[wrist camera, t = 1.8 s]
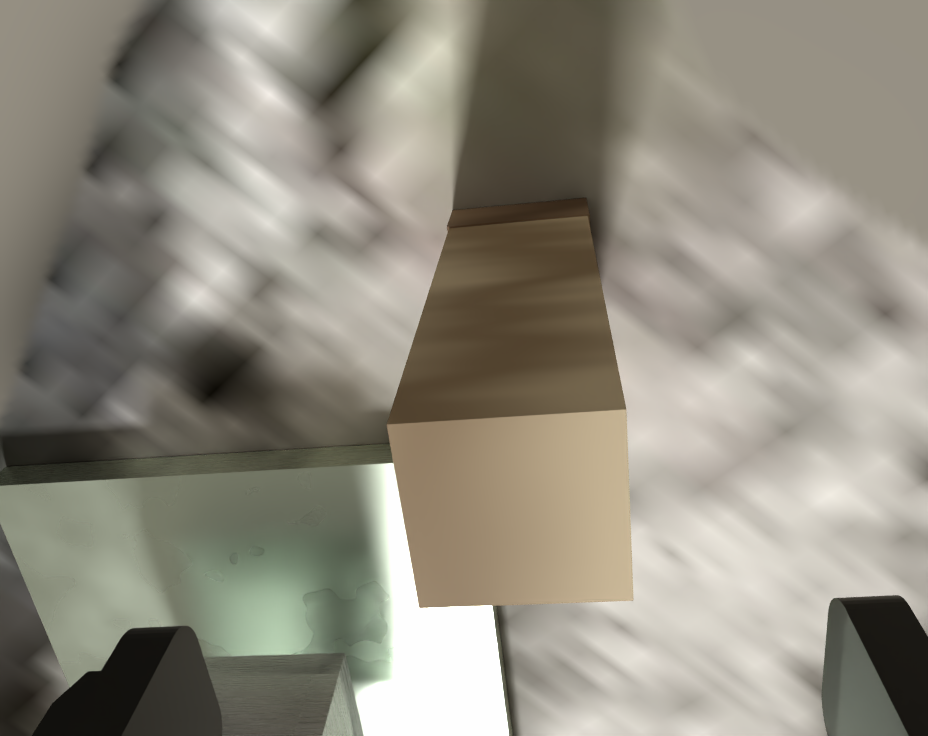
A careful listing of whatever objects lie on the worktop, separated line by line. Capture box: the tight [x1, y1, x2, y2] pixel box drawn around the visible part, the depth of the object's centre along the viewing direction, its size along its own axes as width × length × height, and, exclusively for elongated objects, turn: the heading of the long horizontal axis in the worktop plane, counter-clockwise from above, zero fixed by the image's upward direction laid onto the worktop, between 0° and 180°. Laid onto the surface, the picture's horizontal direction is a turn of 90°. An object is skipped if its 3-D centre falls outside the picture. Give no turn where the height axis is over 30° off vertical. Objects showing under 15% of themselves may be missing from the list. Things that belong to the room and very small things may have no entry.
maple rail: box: [387, 198, 633, 608], centre depth 19 cm, size 4×4×12 cm
